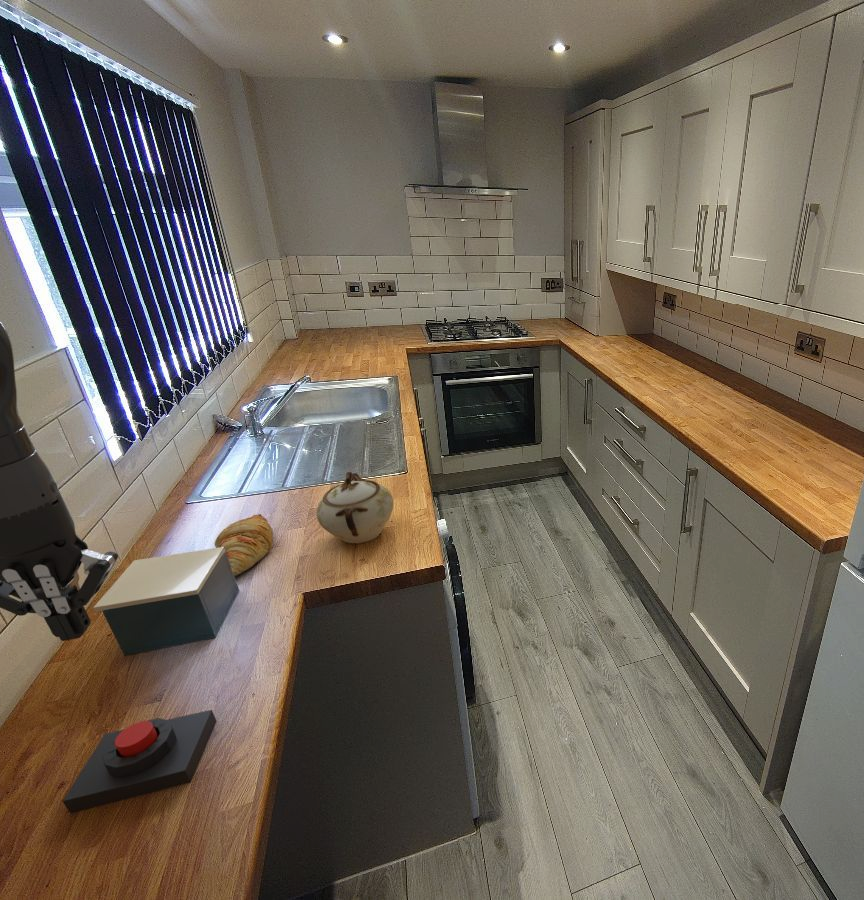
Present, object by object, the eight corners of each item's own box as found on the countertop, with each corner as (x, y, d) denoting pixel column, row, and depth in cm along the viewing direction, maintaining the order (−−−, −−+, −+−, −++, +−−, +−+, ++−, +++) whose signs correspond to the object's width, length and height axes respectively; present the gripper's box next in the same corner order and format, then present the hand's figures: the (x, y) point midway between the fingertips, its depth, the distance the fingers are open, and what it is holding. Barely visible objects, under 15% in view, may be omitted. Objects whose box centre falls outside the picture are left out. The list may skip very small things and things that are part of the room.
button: (113, 761, 62) (108, 751, 62) (128, 735, 65) (123, 725, 65) (149, 752, 63) (144, 742, 63) (162, 727, 66) (157, 717, 66)
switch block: (70, 813, 60) (55, 791, 59) (111, 745, 68) (98, 723, 67) (191, 782, 63) (179, 760, 62) (216, 720, 71) (207, 699, 70)
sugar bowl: (397, 551, 108) (384, 486, 102) (317, 566, 103) (298, 499, 97) (398, 506, 125) (387, 448, 119) (329, 517, 120) (314, 458, 114)
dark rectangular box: (123, 655, 82) (101, 611, 79) (159, 604, 94) (141, 563, 90) (215, 637, 86) (198, 594, 82) (239, 590, 97) (225, 550, 93)
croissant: (256, 592, 101) (268, 558, 100) (194, 583, 97) (205, 547, 95) (277, 534, 120) (287, 504, 118) (225, 524, 115) (235, 493, 113)
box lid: (95, 611, 79) (92, 607, 78) (135, 564, 90) (133, 560, 89) (198, 594, 82) (196, 590, 82) (225, 550, 93) (223, 546, 93)
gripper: (-115, 531, 48) (-23, 673, 54) (64, 509, 51) (129, 645, 58) (-49, 493, 54) (25, 624, 61) (105, 476, 58) (159, 602, 65)
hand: (76, 634), depth 60 cm, fingers closed
